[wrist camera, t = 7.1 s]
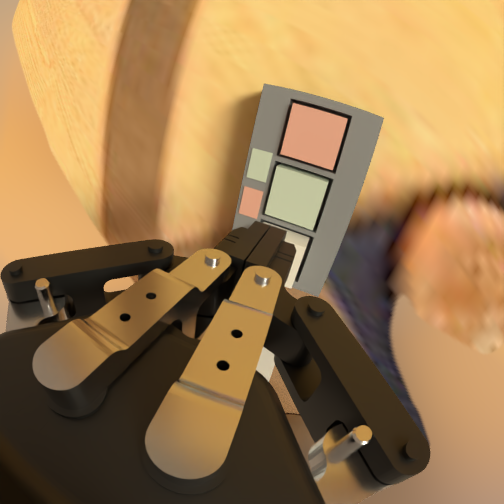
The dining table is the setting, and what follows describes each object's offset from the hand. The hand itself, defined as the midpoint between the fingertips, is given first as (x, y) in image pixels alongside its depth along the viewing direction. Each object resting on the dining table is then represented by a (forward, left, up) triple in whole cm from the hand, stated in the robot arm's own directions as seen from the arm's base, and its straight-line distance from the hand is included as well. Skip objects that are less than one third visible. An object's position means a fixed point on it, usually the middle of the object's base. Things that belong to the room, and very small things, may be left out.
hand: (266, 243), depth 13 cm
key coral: (+4, -2, -11) cm, 12 cm away
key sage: (0, 0, -11) cm, 11 cm away
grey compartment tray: (0, 0, -13) cm, 13 cm away
